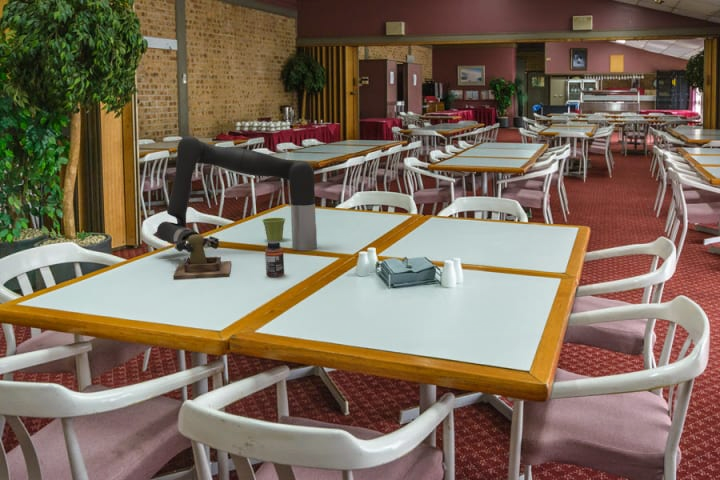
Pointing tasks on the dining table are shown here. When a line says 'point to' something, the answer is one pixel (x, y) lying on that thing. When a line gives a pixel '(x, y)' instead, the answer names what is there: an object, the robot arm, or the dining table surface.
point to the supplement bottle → (274, 259)
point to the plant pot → (274, 228)
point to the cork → (197, 249)
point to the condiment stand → (203, 269)
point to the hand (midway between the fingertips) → (204, 247)
